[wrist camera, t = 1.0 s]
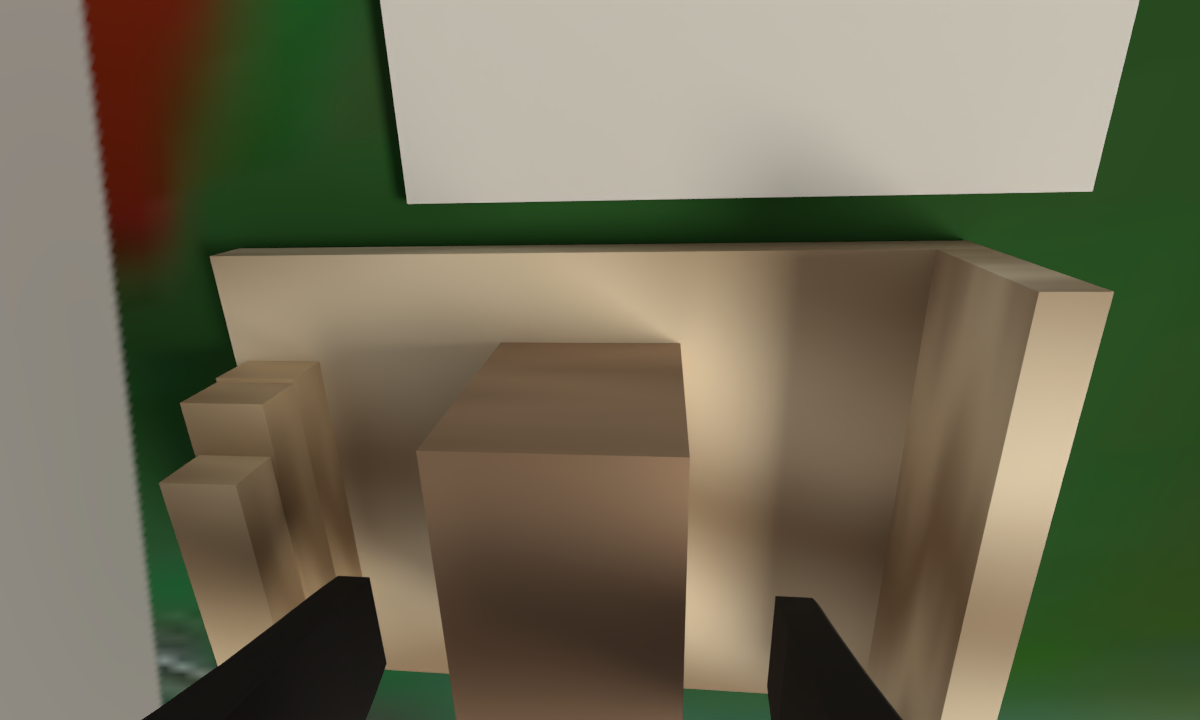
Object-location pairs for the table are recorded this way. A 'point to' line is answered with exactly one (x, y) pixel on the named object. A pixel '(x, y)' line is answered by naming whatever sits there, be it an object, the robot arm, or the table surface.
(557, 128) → the grey mat
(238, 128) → the table surface
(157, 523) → the table surface
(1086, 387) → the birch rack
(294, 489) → the offcut stack
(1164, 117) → the table surface
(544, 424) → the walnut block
